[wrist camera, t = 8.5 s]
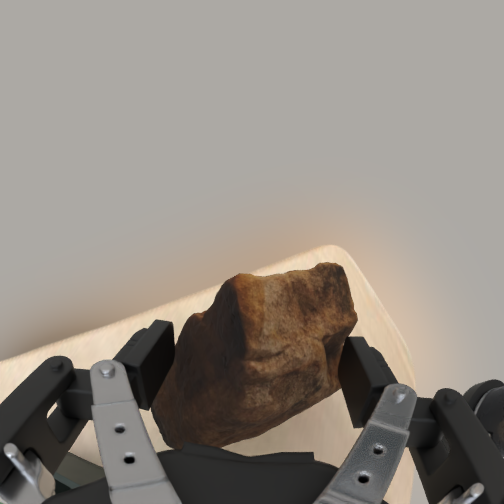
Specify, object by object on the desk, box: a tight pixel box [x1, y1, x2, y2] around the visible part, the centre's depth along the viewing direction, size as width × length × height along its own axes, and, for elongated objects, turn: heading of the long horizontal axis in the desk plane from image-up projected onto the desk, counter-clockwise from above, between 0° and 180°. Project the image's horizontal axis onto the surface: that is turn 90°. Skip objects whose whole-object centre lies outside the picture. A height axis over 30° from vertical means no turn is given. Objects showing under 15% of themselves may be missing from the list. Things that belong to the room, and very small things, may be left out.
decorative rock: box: [151, 262, 358, 449], centre depth 12 cm, size 12×6×11 cm, turn 111°
